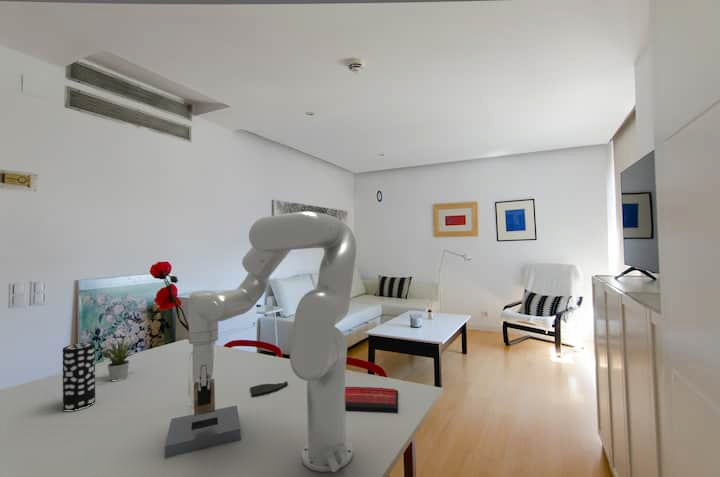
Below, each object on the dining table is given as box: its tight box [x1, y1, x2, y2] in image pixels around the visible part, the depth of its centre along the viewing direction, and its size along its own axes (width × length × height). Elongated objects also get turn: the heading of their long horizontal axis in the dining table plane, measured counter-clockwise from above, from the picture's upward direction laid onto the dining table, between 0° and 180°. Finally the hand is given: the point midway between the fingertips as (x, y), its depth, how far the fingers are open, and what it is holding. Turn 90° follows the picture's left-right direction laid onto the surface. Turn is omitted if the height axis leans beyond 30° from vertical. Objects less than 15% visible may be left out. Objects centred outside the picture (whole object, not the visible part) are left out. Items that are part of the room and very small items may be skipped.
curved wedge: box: [249, 380, 289, 398], centre depth 121 cm, size 8×14×2 cm, turn 113°
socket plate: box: [164, 404, 242, 459], centre depth 92 cm, size 14×18×3 cm
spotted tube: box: [62, 341, 96, 410], centre depth 111 cm, size 8×8×20 cm
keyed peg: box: [193, 378, 216, 416], centre depth 92 cm, size 5×3×8 cm, turn 114°
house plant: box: [98, 337, 141, 381], centre depth 135 cm, size 14×14×16 cm
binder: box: [345, 386, 399, 414], centre depth 111 cm, size 16×2×21 cm
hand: (204, 400), depth 92 cm, fingers closed on keyed peg, 2 cm apart
